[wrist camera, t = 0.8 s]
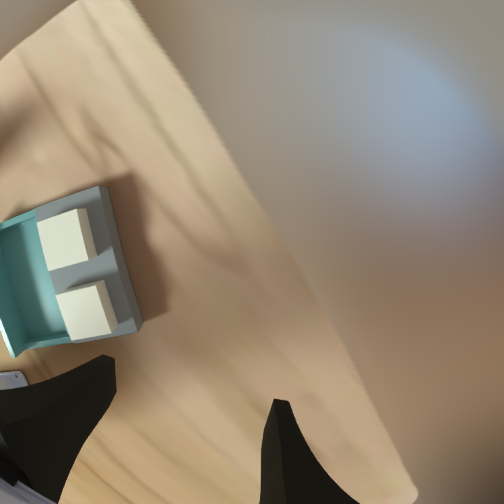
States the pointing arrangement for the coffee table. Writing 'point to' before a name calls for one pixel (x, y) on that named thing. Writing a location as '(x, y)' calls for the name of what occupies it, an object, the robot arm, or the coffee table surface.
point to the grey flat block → (98, 258)
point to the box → (27, 289)
